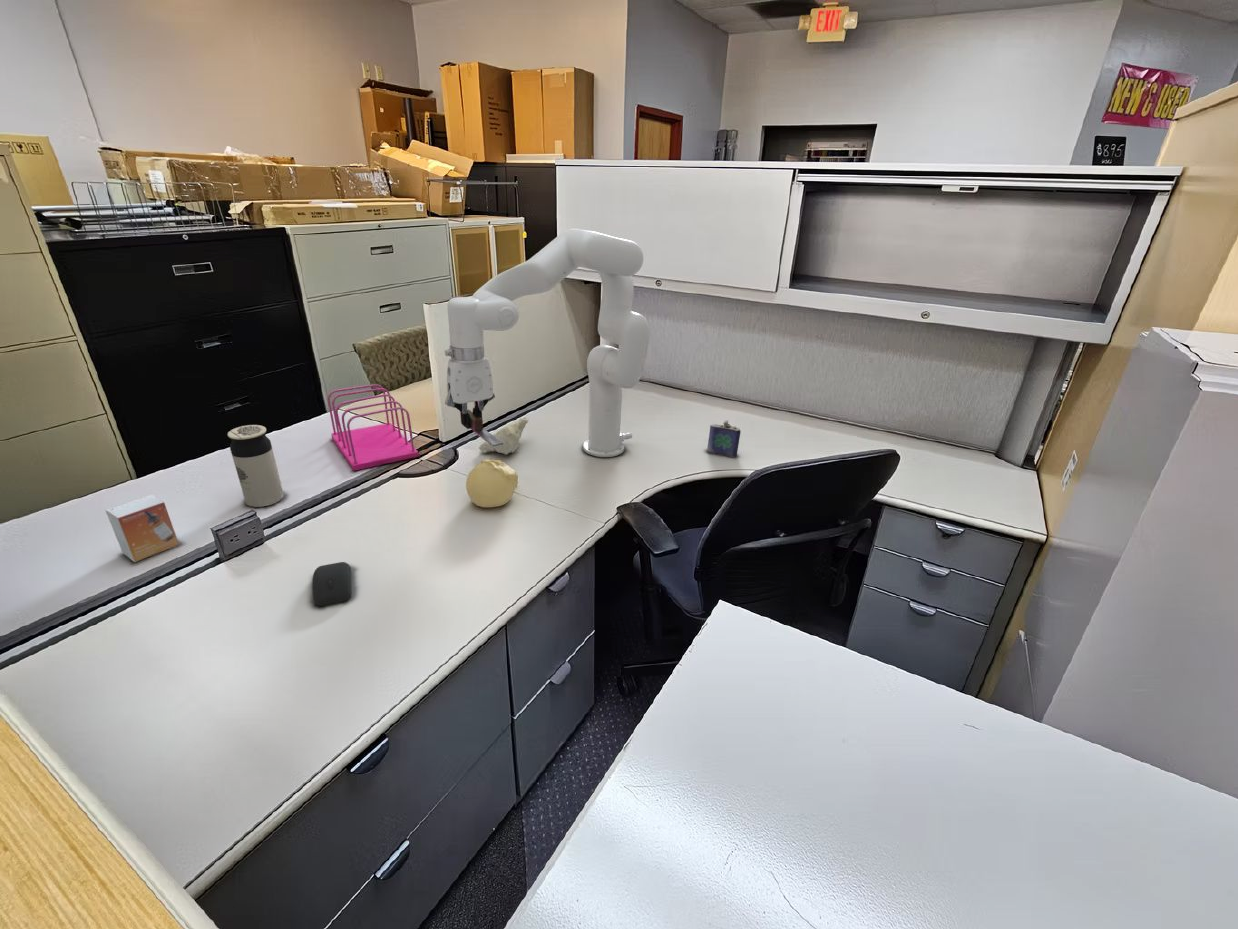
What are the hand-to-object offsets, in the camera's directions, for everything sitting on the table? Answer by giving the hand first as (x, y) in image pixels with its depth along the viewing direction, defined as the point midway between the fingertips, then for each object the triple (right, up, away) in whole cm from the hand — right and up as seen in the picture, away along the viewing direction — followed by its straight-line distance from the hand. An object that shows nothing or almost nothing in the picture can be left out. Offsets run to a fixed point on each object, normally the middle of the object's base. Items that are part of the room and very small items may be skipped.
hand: (472, 425), depth 138 cm
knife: (+2, -2, -3) cm, 4 cm away
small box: (-60, -27, -23) cm, 70 cm away
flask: (+68, -7, +34) cm, 76 cm away
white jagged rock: (+3, -5, +30) cm, 30 cm away
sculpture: (+5, -19, +2) cm, 20 cm away
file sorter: (-35, -5, +25) cm, 43 cm away
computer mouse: (-19, -33, -30) cm, 49 cm away
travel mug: (-49, -18, -3) cm, 53 cm away
